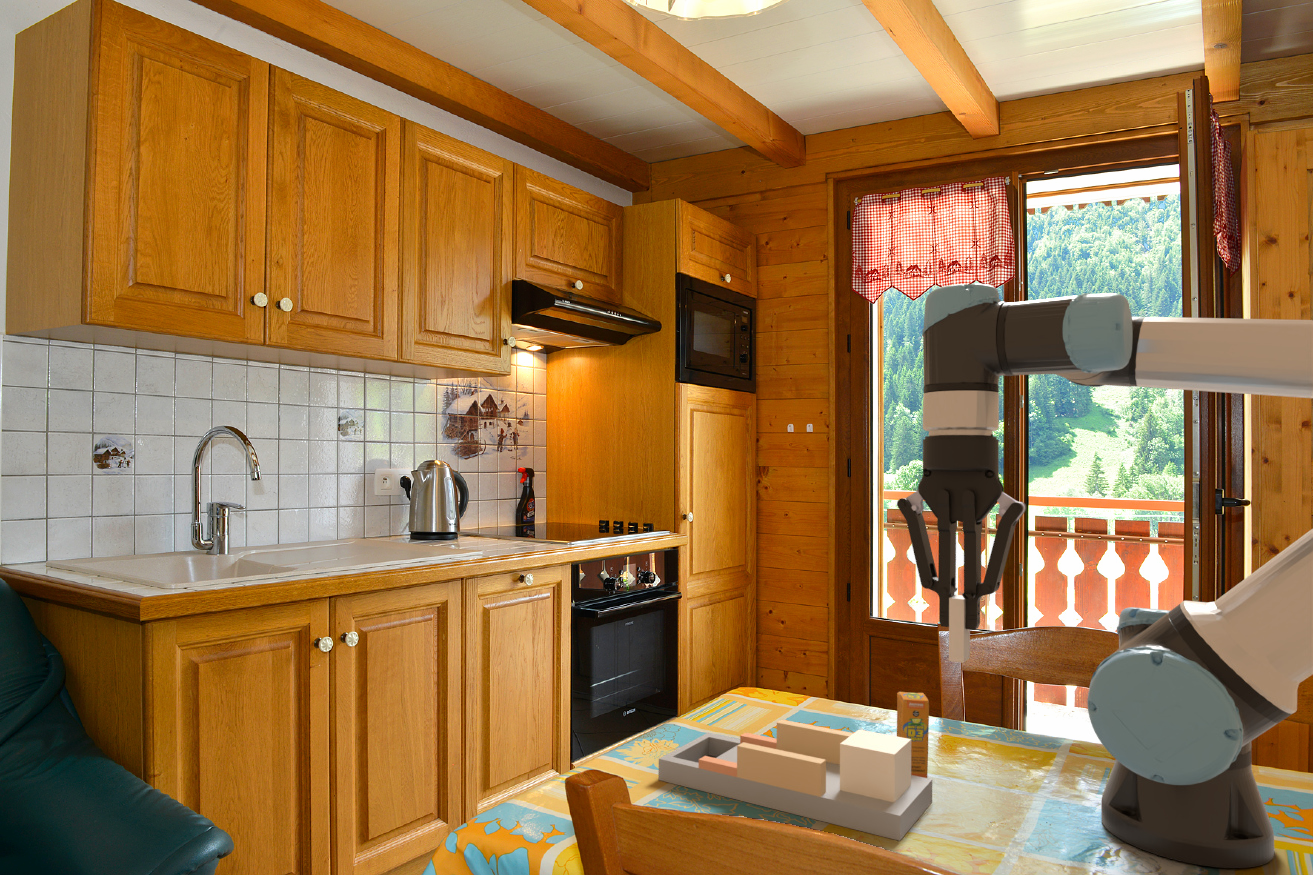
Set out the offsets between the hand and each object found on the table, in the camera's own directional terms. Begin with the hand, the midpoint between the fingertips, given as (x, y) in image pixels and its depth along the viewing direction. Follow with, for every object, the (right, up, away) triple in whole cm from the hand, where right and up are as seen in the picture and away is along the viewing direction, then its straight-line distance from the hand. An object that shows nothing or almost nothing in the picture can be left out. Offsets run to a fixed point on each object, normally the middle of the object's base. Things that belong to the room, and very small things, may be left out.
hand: (959, 659), depth 89 cm
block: (-8, -15, +4) cm, 18 cm away
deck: (-16, -18, +10) cm, 26 cm away
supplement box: (-1, -18, +14) cm, 23 cm away
